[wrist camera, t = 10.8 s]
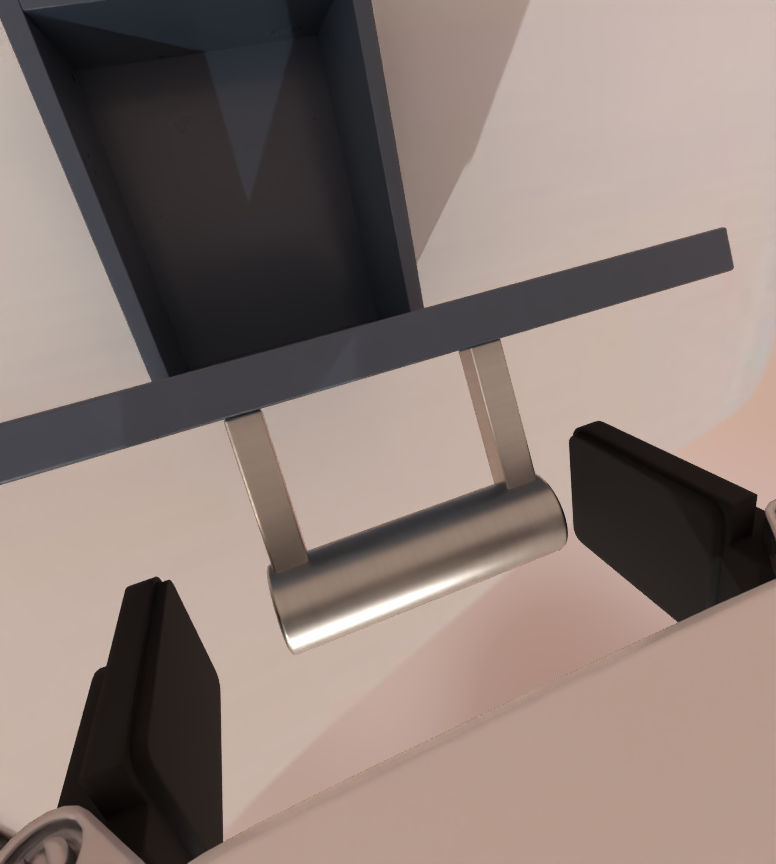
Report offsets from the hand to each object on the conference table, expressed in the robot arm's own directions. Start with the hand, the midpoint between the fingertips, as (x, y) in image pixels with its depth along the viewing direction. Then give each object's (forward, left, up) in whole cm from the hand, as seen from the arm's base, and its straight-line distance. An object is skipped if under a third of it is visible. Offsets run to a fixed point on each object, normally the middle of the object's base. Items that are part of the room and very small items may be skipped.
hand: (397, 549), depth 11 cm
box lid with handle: (-3, +1, -7) cm, 7 cm away
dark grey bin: (-8, +2, -23) cm, 25 cm away
